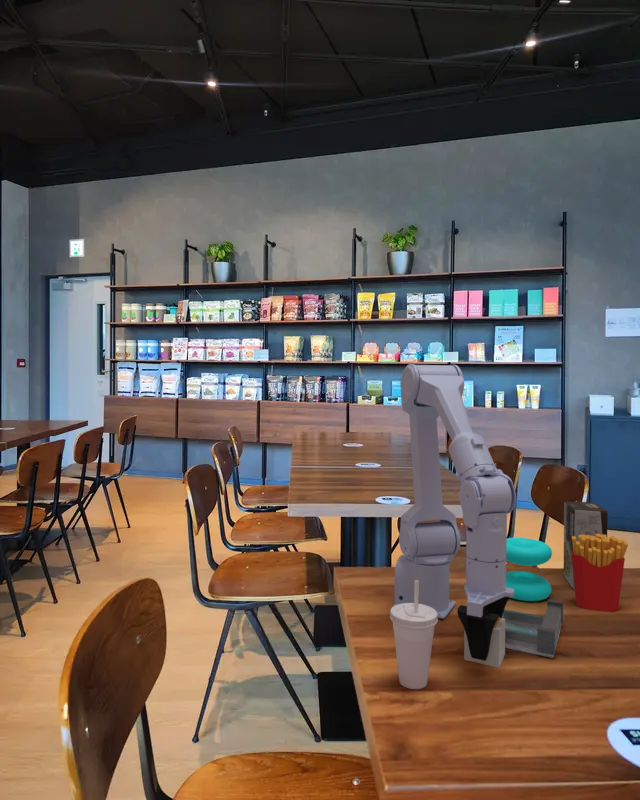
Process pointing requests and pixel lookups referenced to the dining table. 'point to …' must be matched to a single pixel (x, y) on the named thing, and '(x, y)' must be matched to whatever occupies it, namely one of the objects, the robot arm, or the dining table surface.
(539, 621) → the rail
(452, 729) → the dining table surface
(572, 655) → the dining table surface
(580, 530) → the coffee box
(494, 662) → the block
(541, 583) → the donuts
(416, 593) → the smoothie
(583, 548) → the french fries
